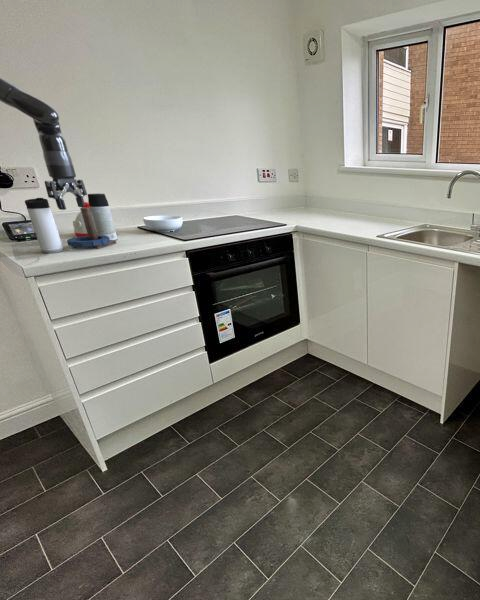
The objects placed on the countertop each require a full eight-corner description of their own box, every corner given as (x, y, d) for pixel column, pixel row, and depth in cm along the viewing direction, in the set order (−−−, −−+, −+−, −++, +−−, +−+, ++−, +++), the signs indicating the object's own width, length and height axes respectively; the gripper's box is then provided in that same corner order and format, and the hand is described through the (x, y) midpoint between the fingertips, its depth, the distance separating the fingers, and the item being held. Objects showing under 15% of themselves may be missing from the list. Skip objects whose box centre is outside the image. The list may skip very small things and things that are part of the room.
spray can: (117, 237, 162) (105, 193, 155) (117, 240, 158) (105, 194, 150) (99, 239, 159) (86, 193, 151) (98, 242, 154) (85, 194, 146)
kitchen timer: (85, 238, 159) (75, 204, 154) (69, 234, 165) (59, 202, 159) (119, 233, 171) (110, 202, 166) (103, 230, 177) (94, 200, 171)
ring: (94, 247, 139) (92, 242, 138) (60, 246, 138) (58, 241, 138) (117, 240, 151) (116, 235, 150) (85, 239, 150) (84, 235, 150)
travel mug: (67, 249, 141) (51, 197, 133) (59, 252, 135) (42, 199, 128) (47, 249, 139) (29, 197, 131) (38, 253, 133) (19, 199, 126)
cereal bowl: (178, 234, 175) (176, 219, 173) (140, 234, 171) (137, 220, 168) (188, 228, 190) (185, 214, 188) (153, 228, 186) (150, 215, 183)
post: (98, 248, 143) (87, 209, 138) (73, 247, 143) (61, 209, 137) (116, 243, 153) (106, 206, 147) (93, 242, 152) (82, 206, 147)
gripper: (66, 163, 138) (78, 206, 143) (30, 163, 124) (45, 210, 130) (85, 164, 138) (96, 206, 144) (52, 164, 124) (66, 210, 130)
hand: (72, 208), depth 137 cm, fingers open, 8 cm apart
